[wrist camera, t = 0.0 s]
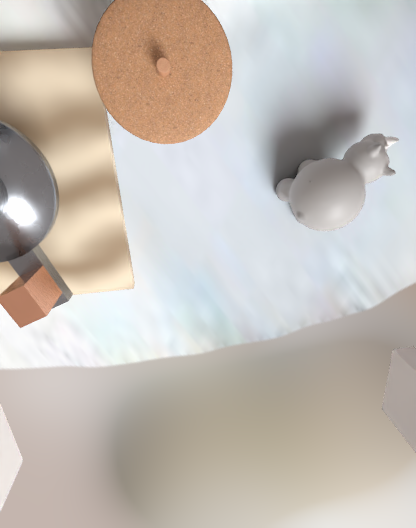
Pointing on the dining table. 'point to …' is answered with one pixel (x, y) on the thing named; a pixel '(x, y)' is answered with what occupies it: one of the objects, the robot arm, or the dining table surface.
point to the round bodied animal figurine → (336, 184)
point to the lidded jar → (162, 67)
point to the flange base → (70, 165)
